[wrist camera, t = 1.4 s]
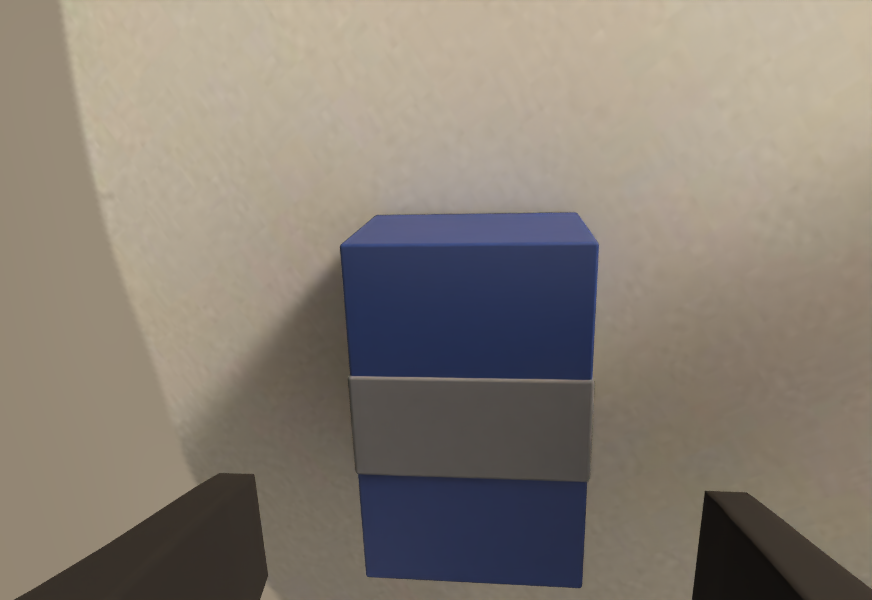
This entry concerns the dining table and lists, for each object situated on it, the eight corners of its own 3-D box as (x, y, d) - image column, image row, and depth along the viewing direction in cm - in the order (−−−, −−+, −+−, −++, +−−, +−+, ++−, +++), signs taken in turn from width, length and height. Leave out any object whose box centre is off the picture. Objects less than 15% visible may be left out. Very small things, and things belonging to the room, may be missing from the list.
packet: (568, 495, 17) (585, 591, 14) (390, 488, 18) (363, 579, 14) (579, 211, 15) (602, 243, 11) (373, 214, 15) (335, 245, 12)
